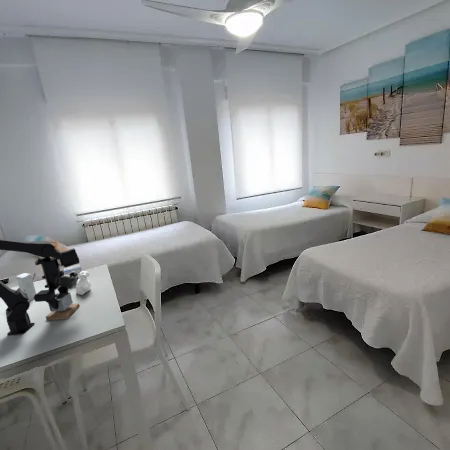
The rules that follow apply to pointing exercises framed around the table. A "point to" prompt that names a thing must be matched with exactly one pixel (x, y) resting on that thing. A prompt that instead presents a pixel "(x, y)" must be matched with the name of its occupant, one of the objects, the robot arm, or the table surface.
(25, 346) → the table surface
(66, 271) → the medicine box
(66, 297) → the grey square sleeve
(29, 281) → the skincare box
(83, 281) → the bust
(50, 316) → the post stand
